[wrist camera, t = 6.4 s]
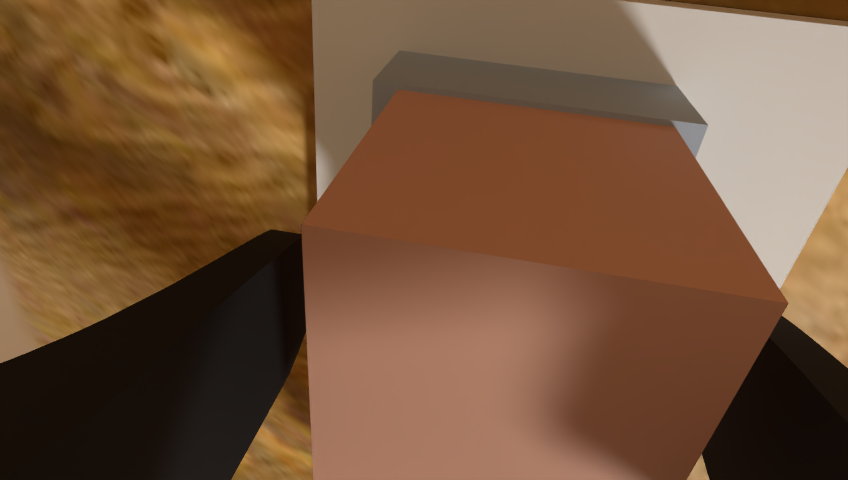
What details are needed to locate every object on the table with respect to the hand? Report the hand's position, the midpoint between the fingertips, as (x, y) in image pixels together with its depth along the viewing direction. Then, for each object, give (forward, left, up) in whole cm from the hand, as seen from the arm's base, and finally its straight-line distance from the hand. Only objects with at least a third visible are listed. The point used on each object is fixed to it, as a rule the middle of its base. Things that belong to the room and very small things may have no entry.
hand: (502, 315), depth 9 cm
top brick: (0, 0, -2) cm, 2 cm away
